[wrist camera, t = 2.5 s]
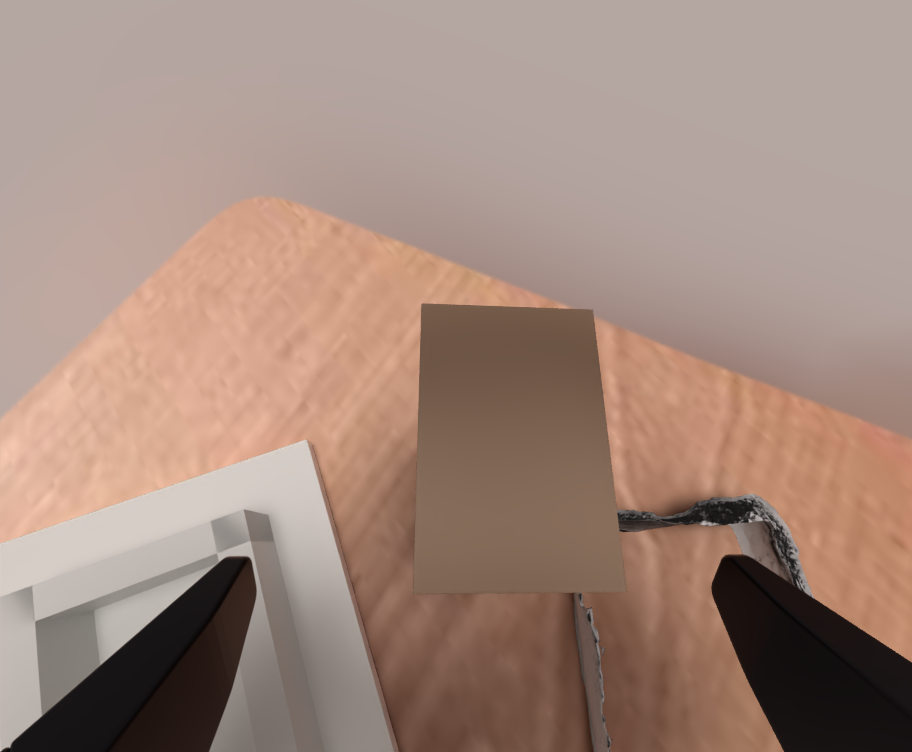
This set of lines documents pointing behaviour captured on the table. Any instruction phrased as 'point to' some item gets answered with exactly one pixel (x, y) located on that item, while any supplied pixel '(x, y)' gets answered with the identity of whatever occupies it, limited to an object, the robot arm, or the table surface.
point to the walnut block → (513, 455)
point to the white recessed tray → (173, 572)
